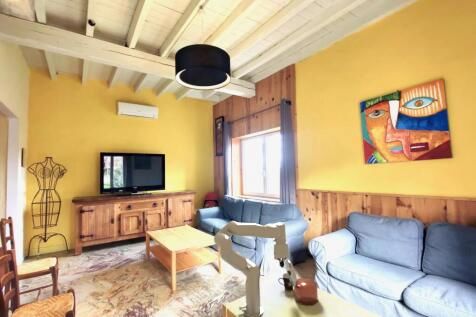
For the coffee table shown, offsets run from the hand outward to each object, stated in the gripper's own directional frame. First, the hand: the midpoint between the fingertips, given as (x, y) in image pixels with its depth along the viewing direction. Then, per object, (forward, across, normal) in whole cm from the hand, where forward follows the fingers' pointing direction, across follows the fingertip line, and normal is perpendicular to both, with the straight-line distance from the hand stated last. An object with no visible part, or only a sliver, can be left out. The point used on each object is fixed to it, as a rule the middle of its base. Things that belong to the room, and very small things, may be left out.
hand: (282, 266), depth 168 cm
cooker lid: (+5, +7, 0) cm, 8 cm away
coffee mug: (+25, +8, +17) cm, 31 cm away
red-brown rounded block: (+24, +16, 0) cm, 29 cm away
